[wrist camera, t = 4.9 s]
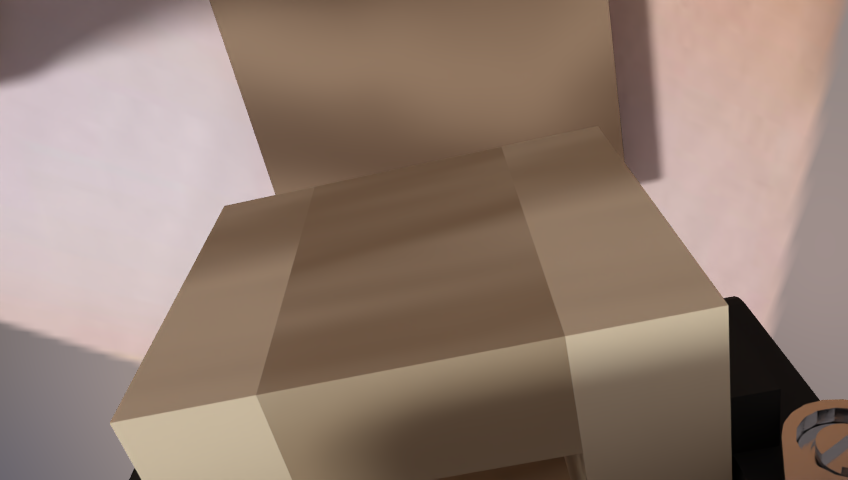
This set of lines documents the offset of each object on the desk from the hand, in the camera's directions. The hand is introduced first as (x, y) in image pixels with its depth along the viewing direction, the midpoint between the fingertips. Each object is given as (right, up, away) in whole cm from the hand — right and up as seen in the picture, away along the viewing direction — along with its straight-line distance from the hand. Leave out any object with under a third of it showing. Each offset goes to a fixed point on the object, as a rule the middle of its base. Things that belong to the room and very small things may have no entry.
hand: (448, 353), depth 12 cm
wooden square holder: (0, 0, +1) cm, 1 cm away
